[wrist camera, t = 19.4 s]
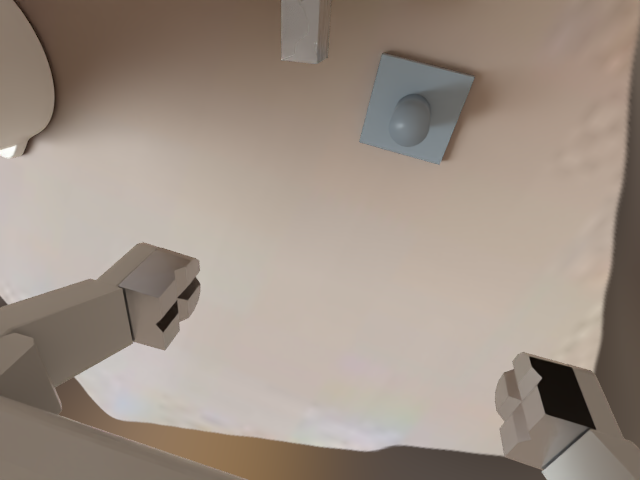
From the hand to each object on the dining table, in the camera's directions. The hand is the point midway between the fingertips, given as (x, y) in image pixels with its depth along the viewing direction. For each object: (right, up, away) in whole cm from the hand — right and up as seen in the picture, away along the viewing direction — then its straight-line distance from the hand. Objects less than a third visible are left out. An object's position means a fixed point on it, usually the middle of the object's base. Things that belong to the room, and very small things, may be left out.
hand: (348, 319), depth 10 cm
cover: (+6, +11, +17) cm, 21 cm away
